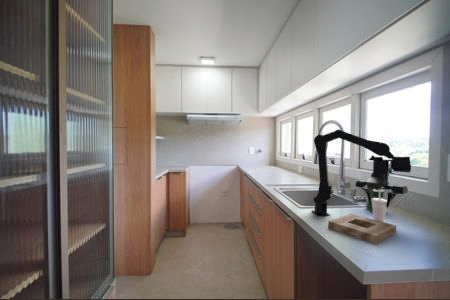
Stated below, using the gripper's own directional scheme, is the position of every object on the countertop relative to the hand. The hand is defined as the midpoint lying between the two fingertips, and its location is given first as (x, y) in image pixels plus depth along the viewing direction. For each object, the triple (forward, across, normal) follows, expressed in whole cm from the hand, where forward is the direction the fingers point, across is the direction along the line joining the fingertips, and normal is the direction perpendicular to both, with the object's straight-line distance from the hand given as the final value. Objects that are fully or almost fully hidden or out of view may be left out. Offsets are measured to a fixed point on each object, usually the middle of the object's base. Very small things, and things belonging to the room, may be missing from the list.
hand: (379, 205), depth 102 cm
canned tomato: (+8, -10, +19) cm, 23 cm away
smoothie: (+7, 0, 0) cm, 7 cm away
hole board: (+8, 0, -16) cm, 18 cm away
